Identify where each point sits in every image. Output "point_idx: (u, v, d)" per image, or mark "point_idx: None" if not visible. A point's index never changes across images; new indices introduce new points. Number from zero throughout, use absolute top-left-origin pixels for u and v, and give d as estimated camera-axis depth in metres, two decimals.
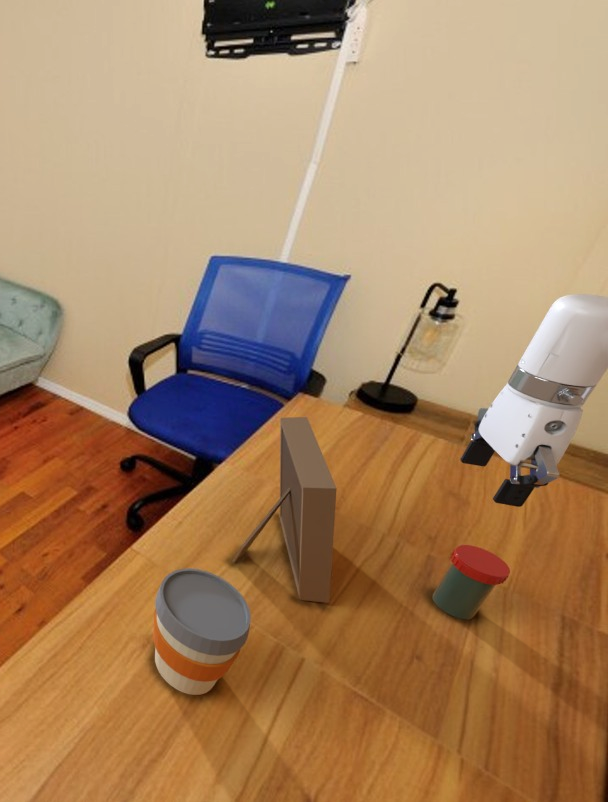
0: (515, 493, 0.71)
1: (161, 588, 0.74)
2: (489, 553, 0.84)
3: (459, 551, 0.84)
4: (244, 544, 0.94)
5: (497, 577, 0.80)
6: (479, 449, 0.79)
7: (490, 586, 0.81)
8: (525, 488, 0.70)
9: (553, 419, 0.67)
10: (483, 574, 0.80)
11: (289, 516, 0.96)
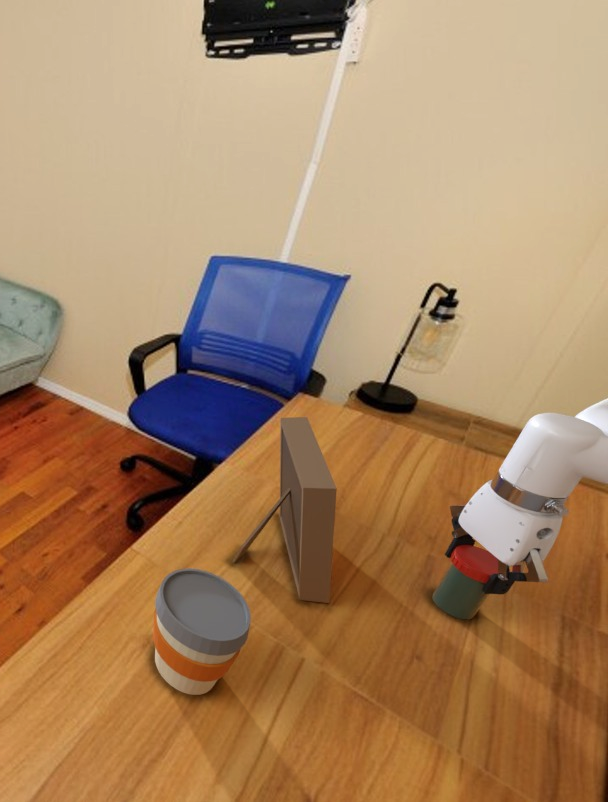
0: (503, 586, 0.79)
1: (161, 588, 0.74)
2: (489, 553, 0.84)
3: (459, 551, 0.84)
4: (244, 544, 0.94)
5: None
6: None
7: None
8: (511, 582, 0.78)
9: (543, 527, 0.73)
10: (483, 574, 0.80)
11: (289, 516, 0.96)
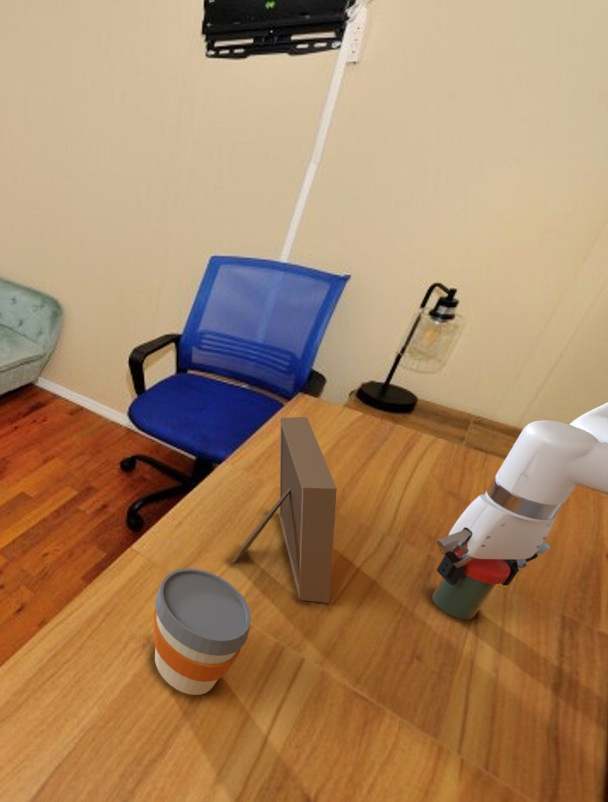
0: None
1: (161, 588, 0.74)
2: None
3: (482, 570, 0.81)
4: (244, 544, 0.94)
5: None
6: None
7: (490, 586, 0.81)
8: None
9: None
10: (509, 570, 0.81)
11: (289, 516, 0.96)
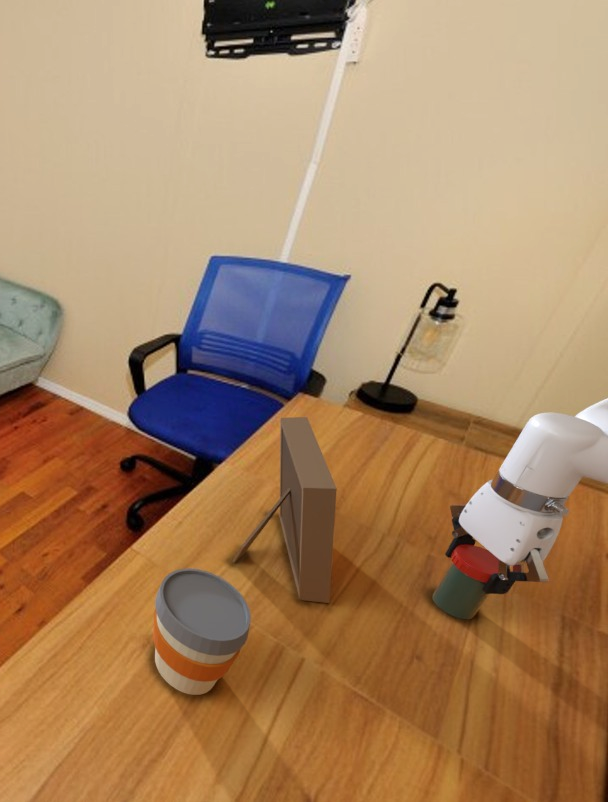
0: (503, 586, 0.79)
1: (161, 588, 0.74)
2: (461, 548, 0.85)
3: (482, 570, 0.81)
4: (244, 544, 0.94)
5: None
6: None
7: None
8: (511, 581, 0.78)
9: (543, 527, 0.73)
10: None
11: (289, 516, 0.96)
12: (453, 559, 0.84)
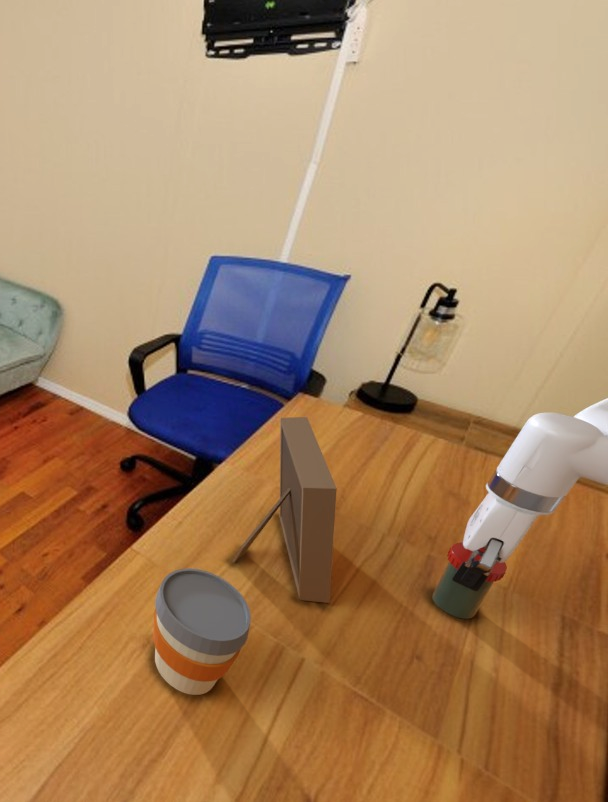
0: None
1: (161, 588, 0.74)
2: None
3: None
4: (244, 544, 0.94)
5: None
6: None
7: (487, 584, 0.82)
8: None
9: None
10: None
11: (289, 516, 0.96)
12: (500, 577, 0.80)
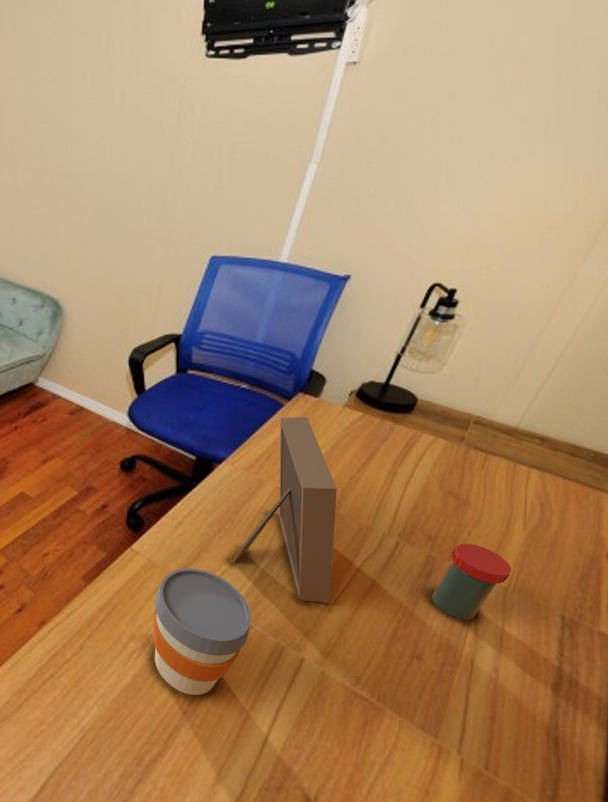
0: None
1: (161, 588, 0.74)
2: (493, 572, 0.80)
3: (499, 557, 0.83)
4: (244, 544, 0.94)
5: (456, 547, 0.85)
6: None
7: (490, 586, 0.81)
8: None
9: None
10: None
11: (289, 516, 0.96)
12: (504, 579, 0.80)
